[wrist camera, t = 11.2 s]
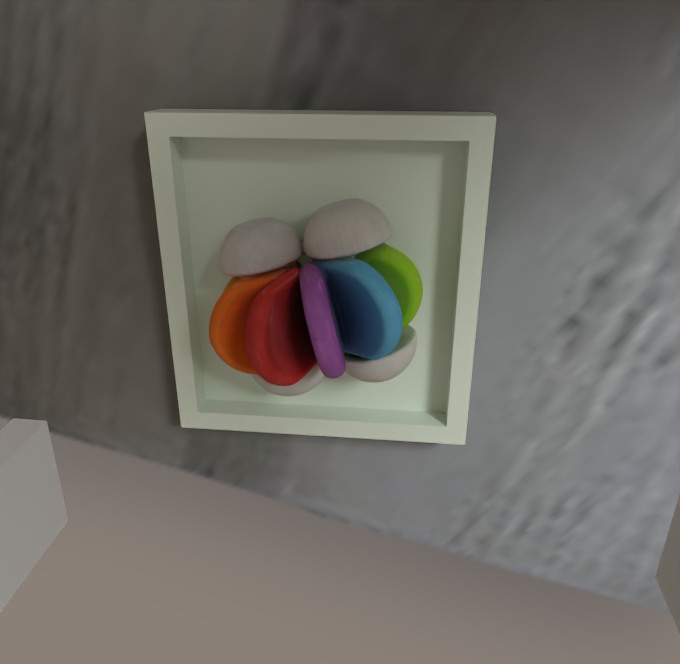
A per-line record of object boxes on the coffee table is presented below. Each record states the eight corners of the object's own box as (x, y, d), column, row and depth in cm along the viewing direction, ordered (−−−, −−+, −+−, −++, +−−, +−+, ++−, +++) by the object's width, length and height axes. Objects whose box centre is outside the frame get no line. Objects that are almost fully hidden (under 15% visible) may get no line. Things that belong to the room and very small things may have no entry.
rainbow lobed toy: (207, 223, 31) (150, 270, 24) (405, 181, 29) (402, 219, 22) (255, 376, 34) (217, 455, 27) (436, 347, 32) (442, 424, 25)
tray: (161, 108, 29) (144, 112, 27) (491, 111, 28) (496, 116, 26) (193, 408, 36) (181, 427, 34) (462, 423, 34) (465, 444, 32)
